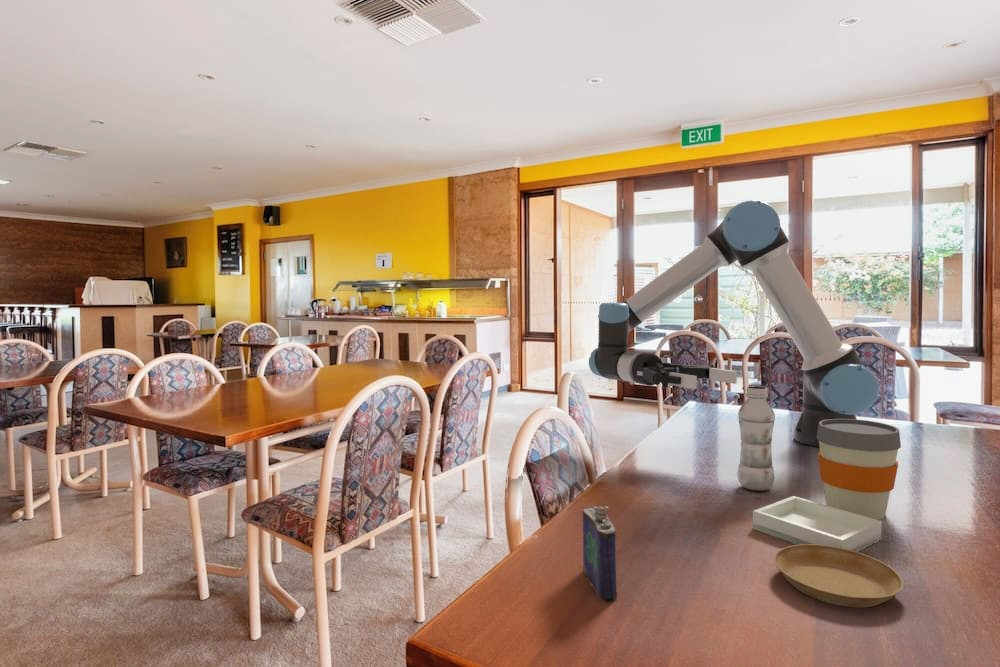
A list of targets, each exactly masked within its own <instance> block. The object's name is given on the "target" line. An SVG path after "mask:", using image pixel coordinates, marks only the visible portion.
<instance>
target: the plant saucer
mask: <svg viewBox="0 0 1000 667" xmlns="http://www.w3.org/2000/svg"><path fill="white" fill-rule="evenodd" d="M773 562H774V565H775V566H776V568H777V569H778V570H779V572H780V573H781V574H782V576H783V577H784V578H785V579H786V580H787V581H788V582H789V583H790V584H791V585H792V586H793V587H794V588H795V589H797V590H798V591H800V592H801V593H803V594H805V595H806V596H807V597H810V598H812V599H815V600H818V601H819V602H824V603H827V604H829V605H830V604H831V605H836V606H840V607H844V608H845V607H846V608H856V609H857V608H860V609H861V608H862V609H863V608H872V607H876V606H879V605H880V604H883V603H885V602H887V601H889V600H890V599H892V598H894V597H895V596H897V594H899V593H900V592H901V591H902V590H903V588H904V580H903V577H902V576H901V575H900V574H899V573H898V572H897V571H896V570H895V569H893V568H892V567H891V566H890V565H888V564H886V563H884V562H883V561H881V560H879V559H877V558H874V557H872V556H869V555H866V554H865V553H861V552H855V551H852V550H848V549H843V548H839V547H833V546H826V545H815V544H802V545H797V544H794V545H788V546H785V547H782V548H780V549H779V550H776V552H775V553H774V555H773Z"/></svg>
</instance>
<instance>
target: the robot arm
mask: <svg viewBox="0 0 1000 667" xmlns="http://www.w3.org/2000/svg"><path fill="white" fill-rule="evenodd" d="M790 242H791V241H790V240H789V239H788V237H787V235H786V233H785V232H784V230H783V228H782V226H781V221H780V217H779V214H778V212H777V211H776V210H775V208H774V207H773V206H772V205H770V204H769V203H767V202H765V201H761V200H758V199H757V200H756V199H750V200H744V201H742V202H740V203H737V204H736V205H734V206H733V207H732V208H730V209H729V210H728V211H727V213H726V214H725V216H724V219H723V220H722V222H721V223H720V224H719V225H718V226H717V227H716V228H715V229H714V230H713V231H712V232H710V233H709V234H707V235H706V236H705V237H704V242H703V243H702V244H700V245H699V246H698V247H697V248H695V249H693V251H691V252H690V253H688V254H687V255H685V256H684V257H682V258H681V259H680V260H679V261H677V262H676V263H674V264H673V265H672V266H671V267H669V268H668V269H666V270H665V271H664V272H662V273H661V274H659V275H658V276H657V277H655V278H654V279H653V280H651V281H650V282H649V283H647V284H645V286H644V287H642V288H640V289H639V290H638V291H637V292H635V293H634V294H632V295H631V296H630V297H628V298H627V299H626V300H624V301H623V302H602V303H601V304H599V308H598V315H597V319H598V344H597V347H596V348H594V349H593V350H592V352H591V353H590V355H589V358H588V367H589V370H590V371H591V372H592V374H594V375H595V376H598V377H602V378H605V379H611V380H616V381H617V380H618V381H623V382H629V384H630V385H634V383H635V384H639V385H644V386H649V387H651V386H654V385H656V386H659V385H660V384H661V388H663V389H667V388H669V386H675V387H678V388H685V389H690V390H697V381H698V379H705V380H706V379H708V380H709V381H714V382H721V383H726V384H727V383H728V384H732V385H735V384H737V383H738V381H737V380H738V371H736V370H731V369H730V370H729V369H724V368H723V369H722V368H717V367H716V366H715V365H714V364H710V366H705V365H692V364H691V365H690V364H680V363H679V364H678V363H670V362H663V361H662V359H661V358H660V357H659V356H658V355H657V354H652V353H647V352H646V353H645V352H640V351H639V352H638V351H631V350H629V333H630V332H631V331H632V330H634V329H635V328H636V327H639V326H640V325H641V324H642V323H644V322H645V321H646V320H647V319H649V318H650V317H652V316H653V315H655V314H656V313H658V311H660V310H661V309H663V308H664V307H666V306H667V305H669V304H670V303H672V302H673V301H674V300H676V299H677V298H678V297H680V296H682V295H683V294H684V293H685V292H687V291H689V290H690V289H691V288H693V287H694V286H695V285H697V284H698V283H700V282H702V281H703V280H704V279H706V278H707V277H709V276H710V275H711V274H712V273H713V272H715V271H717V270H718V269H719V268H721V267H730V266H731V265H732V264H733V263H734V262H736V261H737V262H738V263H739V265H740V267H741V269H746V270H750V271H751V272H752V273H753V275H754V277H755V278H756V280H757V282H758V284H759V285H760V287H761V289H762V291H763V292H764V294H765V296H766V298H768V301H769V303H770V304H771V306H772V308H773V309H774V312H775V313H776V314H777V316H778V318H779V320H780V321H781V322H782V324H783V326H784V327H785V329H786V331H787V332H788V334H789V336H790V338H791V340H792V341H793V343H794V345H795V346H796V348H797V350H798V352H799V353H800V355H801V356H802V358H803V362H802V365H801V370H802V372H803V376H802V378H803V379H802V380H803V381H802V382H803V384H802V409H801V410H802V411H801V413H800V416H799V418H798V421H797V423H796V426H795V428H794V433H793V434H794V435H793V437H794V438H793V439H794V440H795V441H796V442H798V443H801V444H803V445H806V444H807V446H811V447H816V448H820V447H819V440H817V432H818V425H819V422H820V421H822V420H827V419H857V416H856V415H857V414H861V413H863V412H865V411H866V410H868V409H870V408H871V407H872V406H873V405H874V403H875V402H876V400H877V399H878V396H879V392H880V386H879V382H878V379H877V377H876V375H875V373H874V372H872V371H871V369H869V368H868V367H867V366H865V365H864V362H863V361H862V360H861V358H860V356H859V355H858V354H857V351H856V350H855V349H854V346H853V345H852V344H851V345H850V344H848V343H845V342H843V341H841V339H840V337H839V336H838V335H837V333H836V331H835V329H834V328H833V326H832V323H830V321H829V319H828V318H827V316H826V314H825V312H824V311H823V309H822V307H821V306H820V304H819V303H818V301H817V300H816V298H815V296H814V294H813V293H812V291H811V289H810V287H809V286H808V284H807V282H806V281H805V279H804V278H803V275H802V274H801V272H800V271H799V268H797V265H796V264H795V262H794V261H793V259H792V258H791V256H790V254H789V253H788V250H789V246H790V244H791V243H790ZM857 420H858V419H857Z"/></svg>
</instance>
